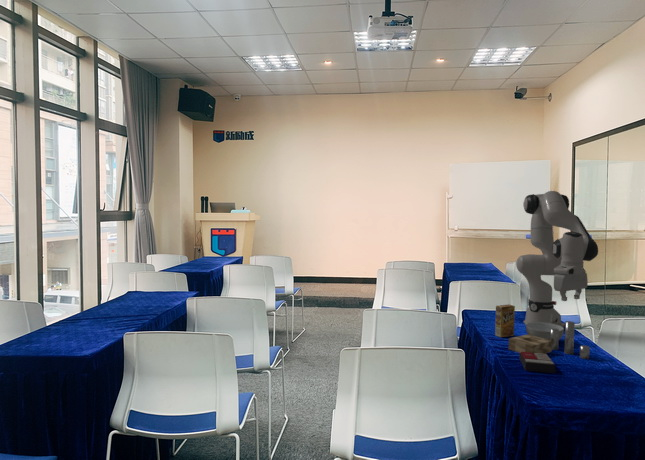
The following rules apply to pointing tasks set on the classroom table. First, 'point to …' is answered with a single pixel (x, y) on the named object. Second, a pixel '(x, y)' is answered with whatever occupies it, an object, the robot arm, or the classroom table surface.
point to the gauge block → (530, 344)
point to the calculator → (536, 362)
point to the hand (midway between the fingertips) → (570, 299)
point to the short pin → (584, 352)
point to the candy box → (504, 320)
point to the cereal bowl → (543, 329)
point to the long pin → (569, 337)
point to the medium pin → (554, 338)
